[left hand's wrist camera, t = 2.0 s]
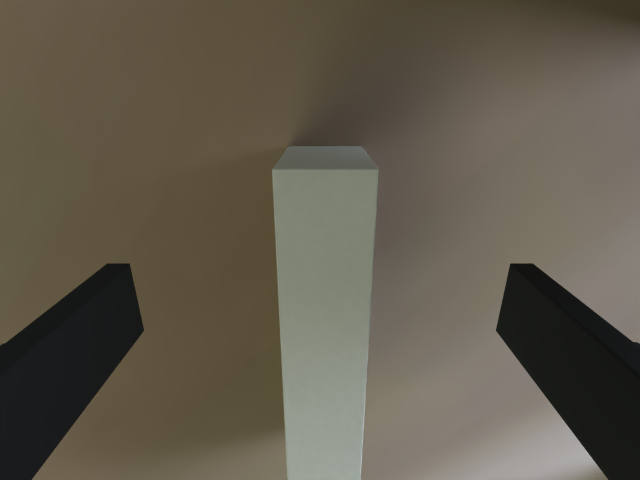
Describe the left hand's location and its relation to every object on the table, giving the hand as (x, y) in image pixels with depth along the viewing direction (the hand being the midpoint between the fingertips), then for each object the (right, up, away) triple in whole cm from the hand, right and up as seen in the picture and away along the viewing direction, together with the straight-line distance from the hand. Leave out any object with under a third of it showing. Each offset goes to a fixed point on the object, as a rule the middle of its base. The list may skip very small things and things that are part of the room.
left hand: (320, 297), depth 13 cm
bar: (0, -3, +18) cm, 19 cm away
